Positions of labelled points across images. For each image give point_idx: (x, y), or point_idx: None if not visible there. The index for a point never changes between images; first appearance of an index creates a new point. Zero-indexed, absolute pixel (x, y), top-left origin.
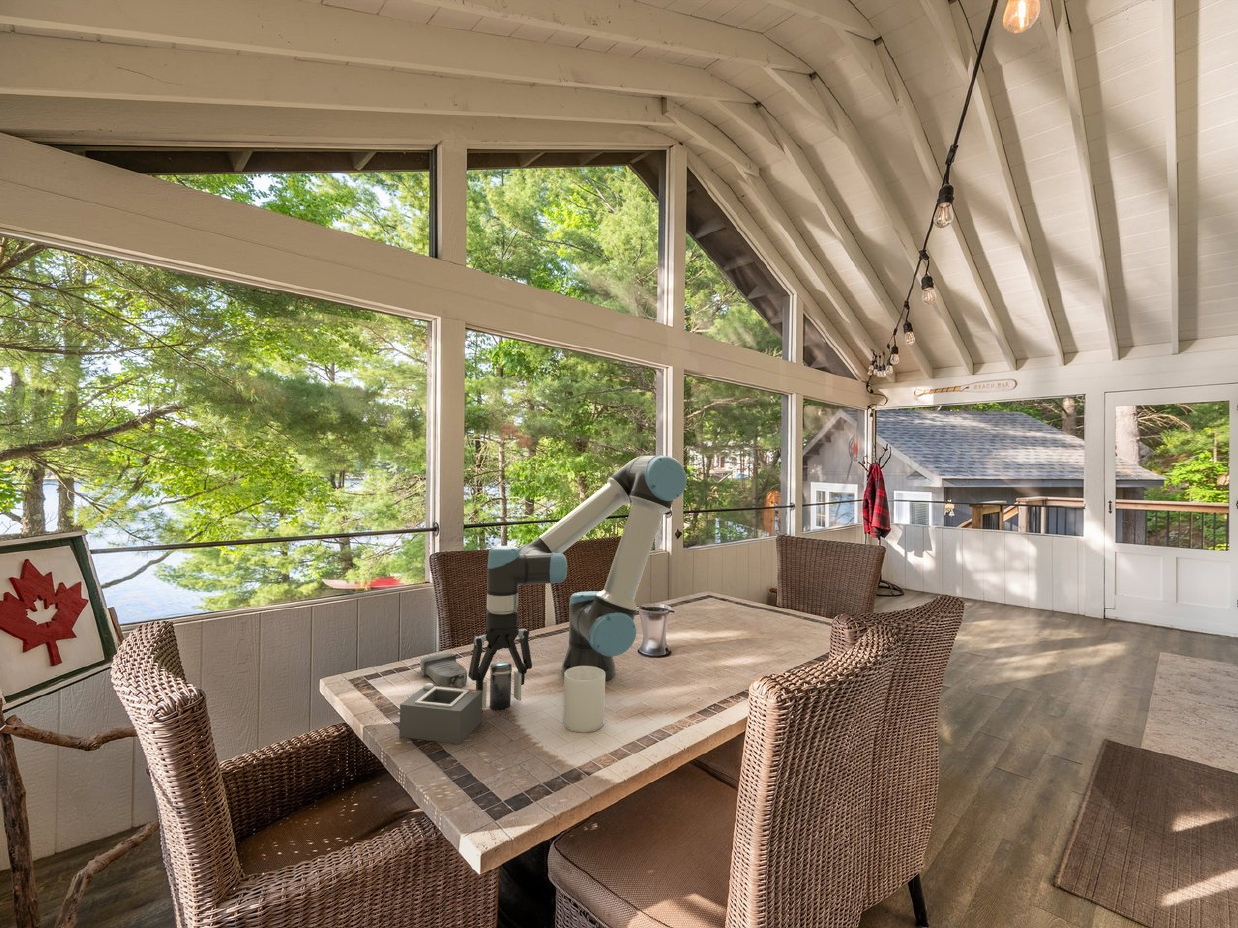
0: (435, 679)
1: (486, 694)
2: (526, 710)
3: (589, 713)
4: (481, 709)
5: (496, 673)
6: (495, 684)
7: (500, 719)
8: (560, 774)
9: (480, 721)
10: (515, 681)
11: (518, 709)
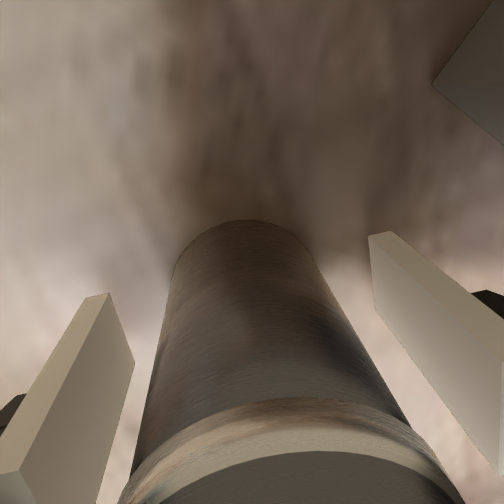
0: None
1: (415, 281)
2: (59, 152)
3: None
4: (496, 73)
5: (411, 446)
6: (352, 343)
7: (292, 57)
8: None
9: (449, 63)
10: (93, 441)
11: (122, 192)
